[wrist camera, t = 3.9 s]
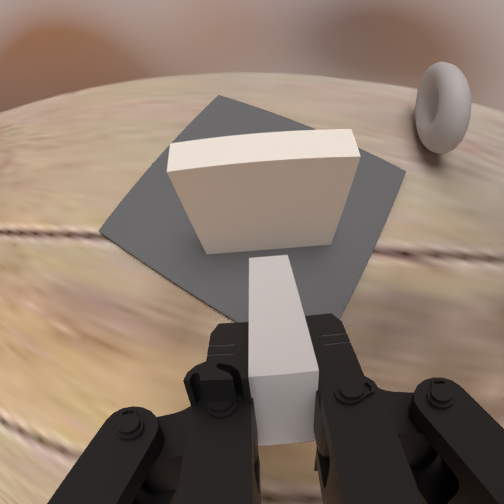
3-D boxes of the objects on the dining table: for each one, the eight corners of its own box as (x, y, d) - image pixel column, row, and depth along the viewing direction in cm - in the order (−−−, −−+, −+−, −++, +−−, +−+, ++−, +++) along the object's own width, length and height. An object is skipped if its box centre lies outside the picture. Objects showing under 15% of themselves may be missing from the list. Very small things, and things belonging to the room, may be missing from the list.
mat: (404, 174, 29) (405, 171, 28) (312, 365, 23) (313, 365, 22) (219, 98, 34) (218, 95, 34) (101, 233, 28) (98, 230, 28)
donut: (447, 176, 28) (488, 110, 19) (419, 169, 29) (455, 98, 20) (431, 112, 32) (456, 50, 23) (406, 106, 33) (428, 41, 23)
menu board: (330, 244, 26) (360, 156, 16) (206, 254, 26) (166, 172, 16) (326, 222, 26) (351, 128, 16) (206, 232, 27) (170, 143, 17)
